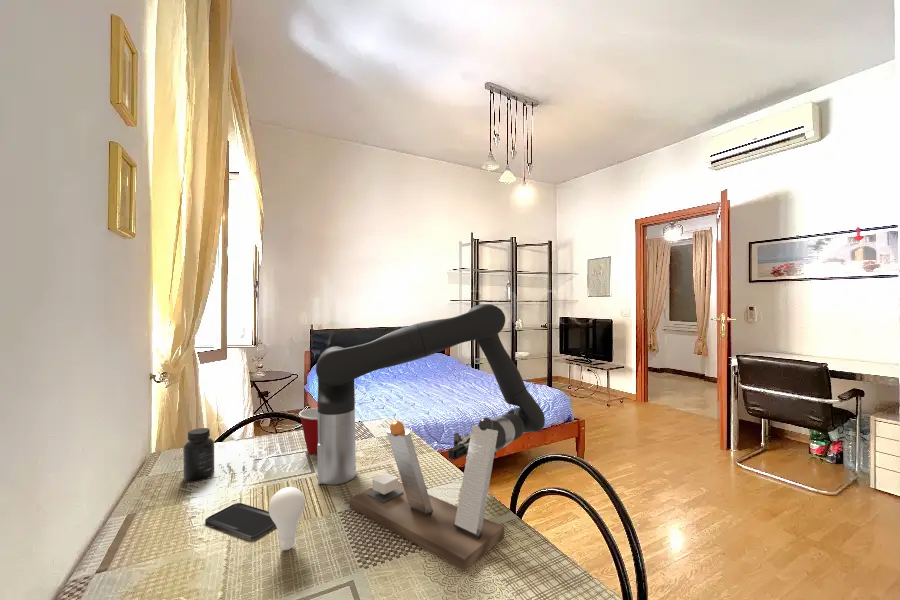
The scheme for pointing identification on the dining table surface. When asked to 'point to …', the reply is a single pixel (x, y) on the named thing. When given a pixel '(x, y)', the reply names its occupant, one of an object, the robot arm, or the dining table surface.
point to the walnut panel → (428, 525)
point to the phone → (242, 521)
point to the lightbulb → (287, 514)
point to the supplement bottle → (198, 455)
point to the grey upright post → (476, 478)
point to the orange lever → (409, 468)
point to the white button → (385, 483)
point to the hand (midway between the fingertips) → (451, 454)
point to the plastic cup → (310, 428)
